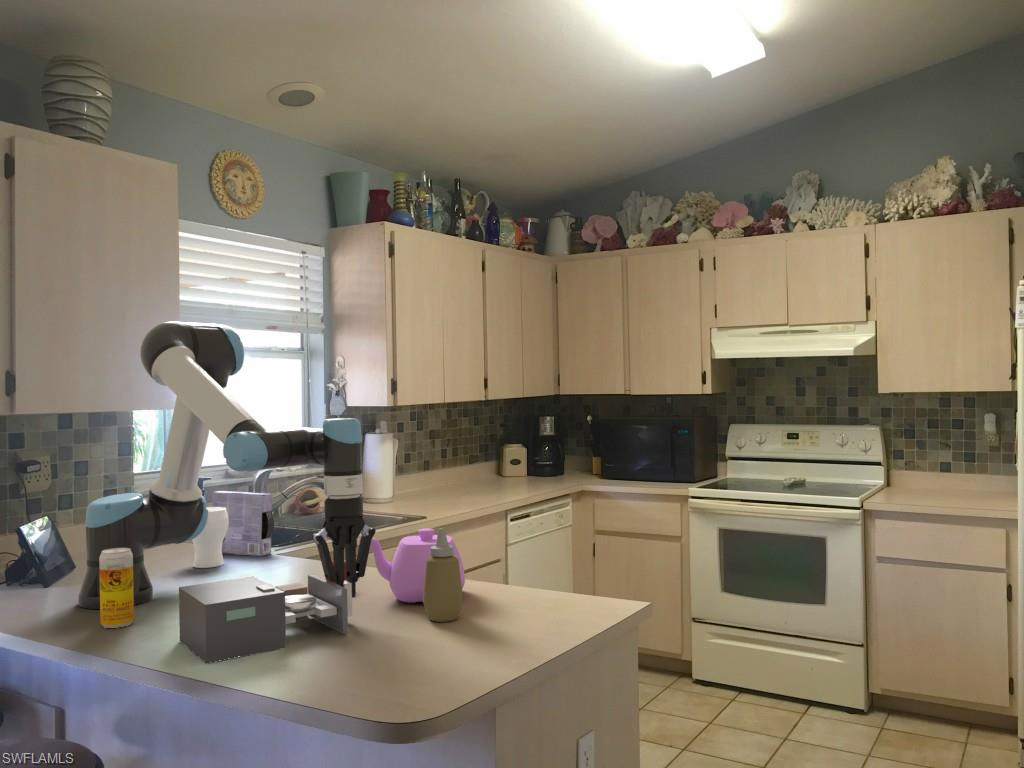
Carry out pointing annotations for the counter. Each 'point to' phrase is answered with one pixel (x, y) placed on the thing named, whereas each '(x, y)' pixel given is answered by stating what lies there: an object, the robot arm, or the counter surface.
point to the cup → (211, 539)
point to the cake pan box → (246, 522)
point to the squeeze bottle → (442, 582)
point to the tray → (325, 604)
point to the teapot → (410, 564)
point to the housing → (232, 618)
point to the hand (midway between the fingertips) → (345, 614)
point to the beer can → (116, 587)
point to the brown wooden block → (293, 590)
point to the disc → (299, 603)
